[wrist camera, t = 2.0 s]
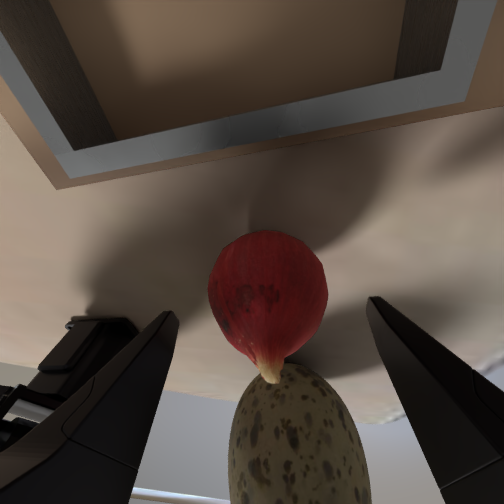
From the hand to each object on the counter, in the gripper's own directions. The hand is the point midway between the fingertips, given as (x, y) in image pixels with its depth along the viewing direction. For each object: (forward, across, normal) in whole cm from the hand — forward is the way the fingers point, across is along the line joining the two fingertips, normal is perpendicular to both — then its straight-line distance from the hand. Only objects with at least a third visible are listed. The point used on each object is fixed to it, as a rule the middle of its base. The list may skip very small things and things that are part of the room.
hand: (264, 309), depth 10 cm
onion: (+5, 0, 0) cm, 5 cm away
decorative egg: (+5, 0, +16) cm, 17 cm away
